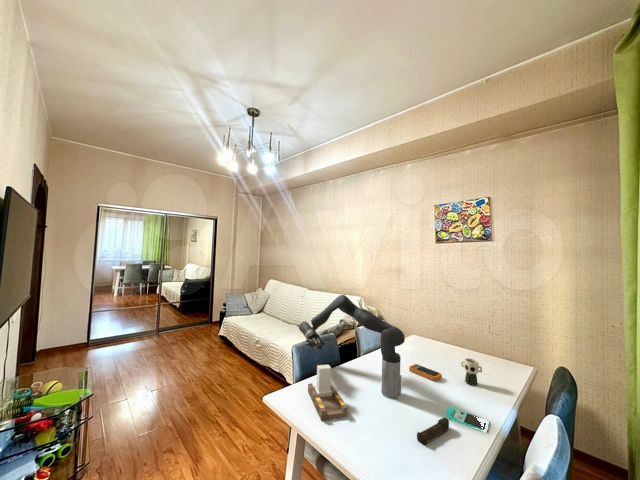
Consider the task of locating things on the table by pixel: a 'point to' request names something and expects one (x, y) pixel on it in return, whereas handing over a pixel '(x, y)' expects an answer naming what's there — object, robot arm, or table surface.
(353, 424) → the table surface
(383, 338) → the robot arm
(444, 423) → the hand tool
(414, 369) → the multimeter
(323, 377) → the switch tab
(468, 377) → the character mug
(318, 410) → the switch housing
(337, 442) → the table surface
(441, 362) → the table surface
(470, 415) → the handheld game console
